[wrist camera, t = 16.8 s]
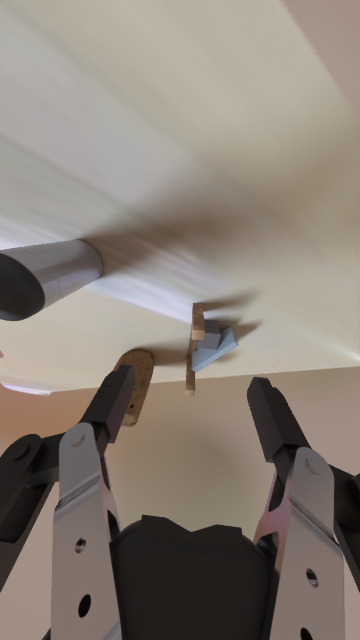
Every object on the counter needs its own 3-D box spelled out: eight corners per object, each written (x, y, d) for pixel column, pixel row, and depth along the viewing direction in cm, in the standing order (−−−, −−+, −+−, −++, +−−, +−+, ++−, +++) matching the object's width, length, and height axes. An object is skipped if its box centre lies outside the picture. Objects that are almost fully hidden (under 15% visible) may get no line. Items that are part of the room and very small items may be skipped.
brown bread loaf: (157, 352, 51) (138, 416, 34) (154, 367, 55) (136, 432, 38) (124, 345, 50) (88, 407, 33) (123, 361, 54) (92, 424, 37)
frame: (186, 361, 52) (185, 395, 42) (193, 303, 41) (192, 329, 30) (194, 362, 52) (194, 396, 42) (202, 304, 41) (205, 330, 30)
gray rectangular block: (197, 334, 46) (197, 347, 41) (199, 319, 43) (200, 332, 38) (214, 335, 46) (217, 349, 41) (217, 321, 43) (220, 334, 38)
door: (192, 353, 49) (191, 369, 44) (229, 326, 43) (234, 341, 37) (198, 357, 50) (198, 374, 44) (235, 332, 44) (241, 347, 38)
